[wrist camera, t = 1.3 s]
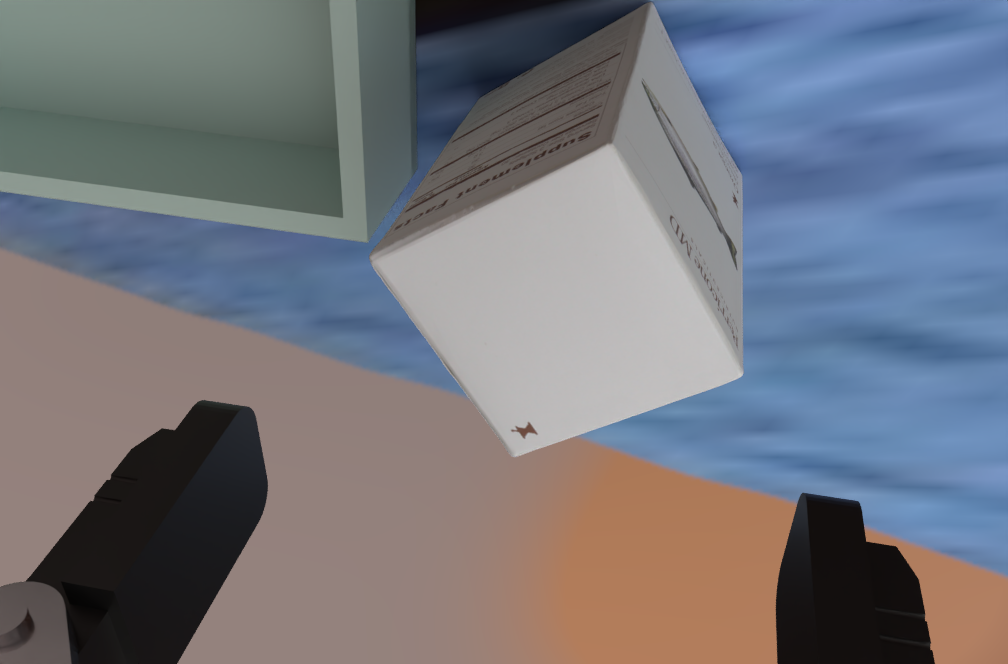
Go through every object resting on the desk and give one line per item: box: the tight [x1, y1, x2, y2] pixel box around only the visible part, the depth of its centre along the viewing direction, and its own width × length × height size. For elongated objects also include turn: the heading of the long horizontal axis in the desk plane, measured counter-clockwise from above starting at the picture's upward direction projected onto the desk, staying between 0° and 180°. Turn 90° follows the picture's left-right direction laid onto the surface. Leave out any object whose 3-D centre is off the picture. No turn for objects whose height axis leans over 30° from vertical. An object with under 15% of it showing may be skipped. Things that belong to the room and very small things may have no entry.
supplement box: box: [369, 2, 744, 457], centre depth 29 cm, size 7×7×13 cm
